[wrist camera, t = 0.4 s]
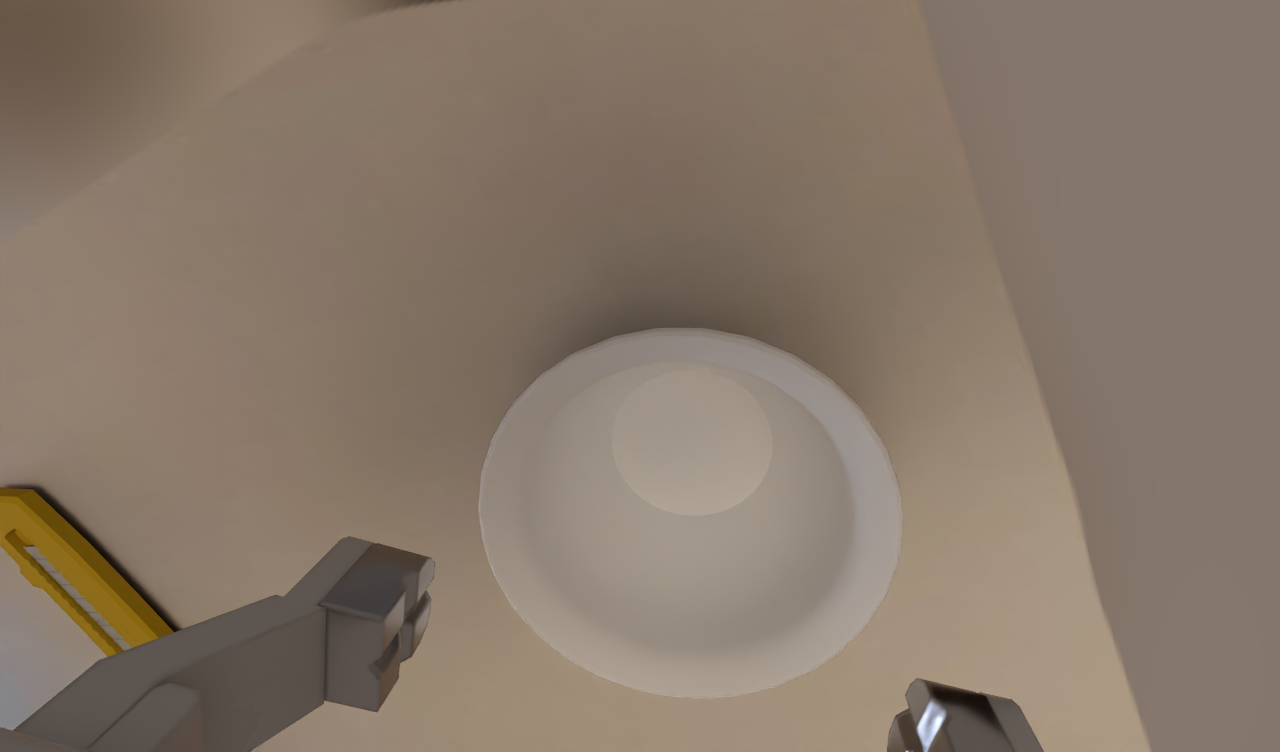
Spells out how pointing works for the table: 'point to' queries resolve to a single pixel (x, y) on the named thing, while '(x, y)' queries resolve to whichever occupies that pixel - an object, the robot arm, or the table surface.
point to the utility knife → (75, 574)
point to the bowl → (690, 513)
